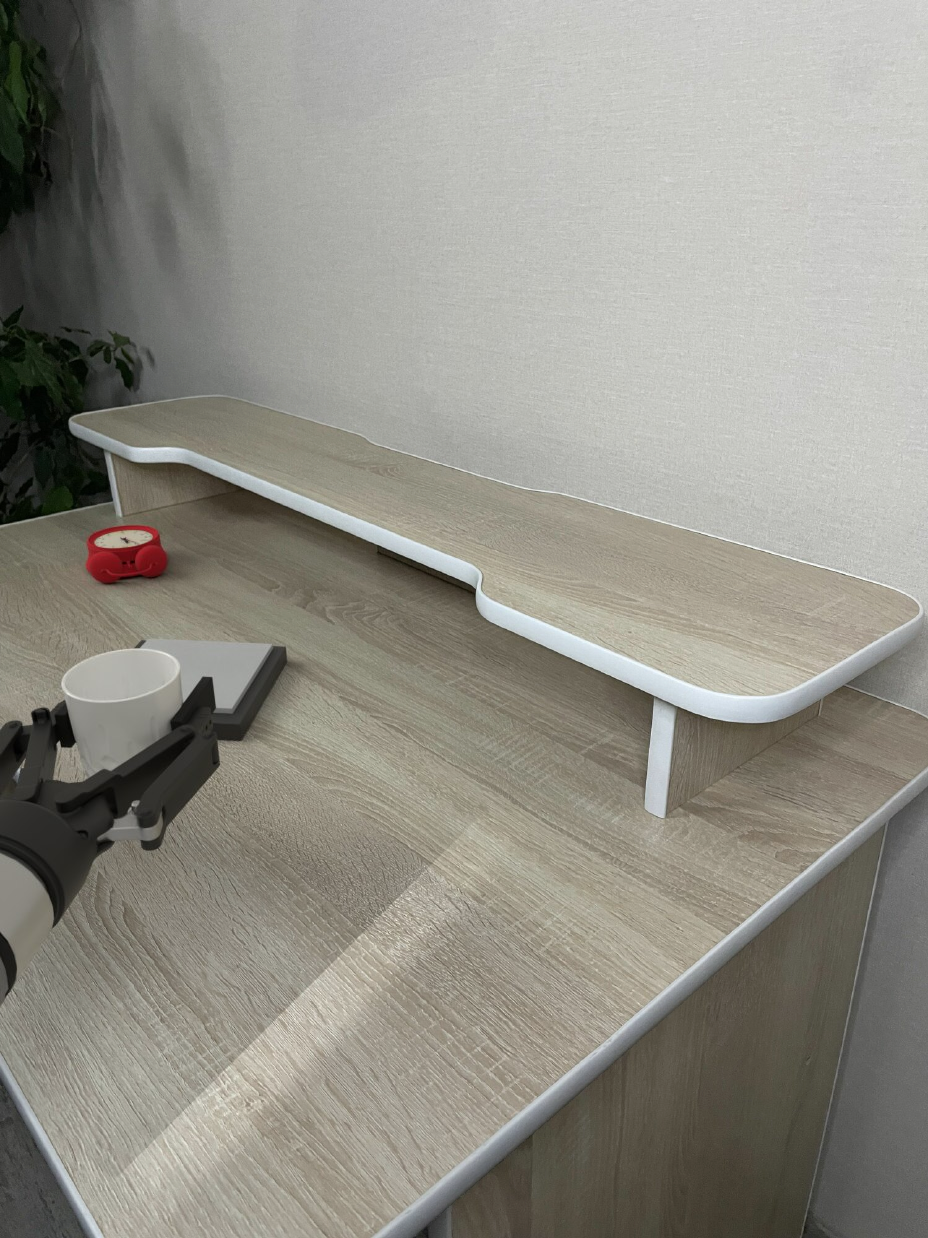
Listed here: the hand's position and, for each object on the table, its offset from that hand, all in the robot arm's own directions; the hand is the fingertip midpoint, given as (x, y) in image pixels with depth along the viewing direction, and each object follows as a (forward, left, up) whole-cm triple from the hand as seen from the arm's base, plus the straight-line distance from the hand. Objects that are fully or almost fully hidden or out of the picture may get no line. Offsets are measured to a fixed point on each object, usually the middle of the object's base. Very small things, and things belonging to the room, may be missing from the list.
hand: (156, 689), depth 71 cm
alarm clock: (-26, +51, -12) cm, 59 cm away
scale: (-6, +19, -11) cm, 23 cm away
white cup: (0, -5, -6) cm, 8 cm away
